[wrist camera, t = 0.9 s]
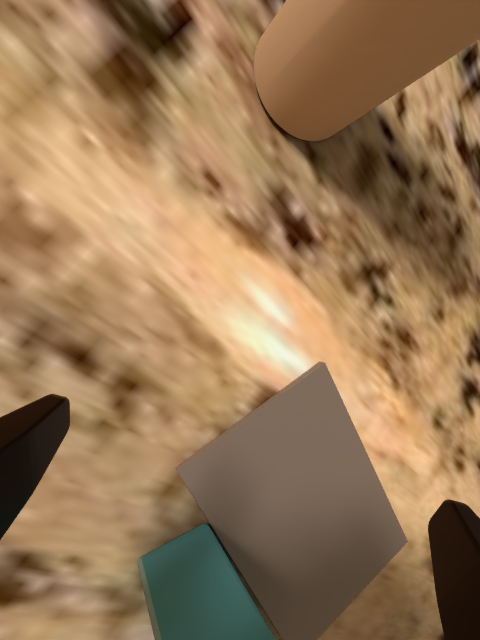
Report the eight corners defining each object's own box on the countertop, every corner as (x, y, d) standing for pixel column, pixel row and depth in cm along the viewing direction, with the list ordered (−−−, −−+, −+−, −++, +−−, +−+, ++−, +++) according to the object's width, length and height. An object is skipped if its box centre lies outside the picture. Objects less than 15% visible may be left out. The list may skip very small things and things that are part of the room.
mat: (292, 654, 27) (296, 661, 27) (175, 468, 23) (177, 472, 23) (401, 537, 31) (407, 541, 31) (319, 361, 27) (324, 362, 27)
